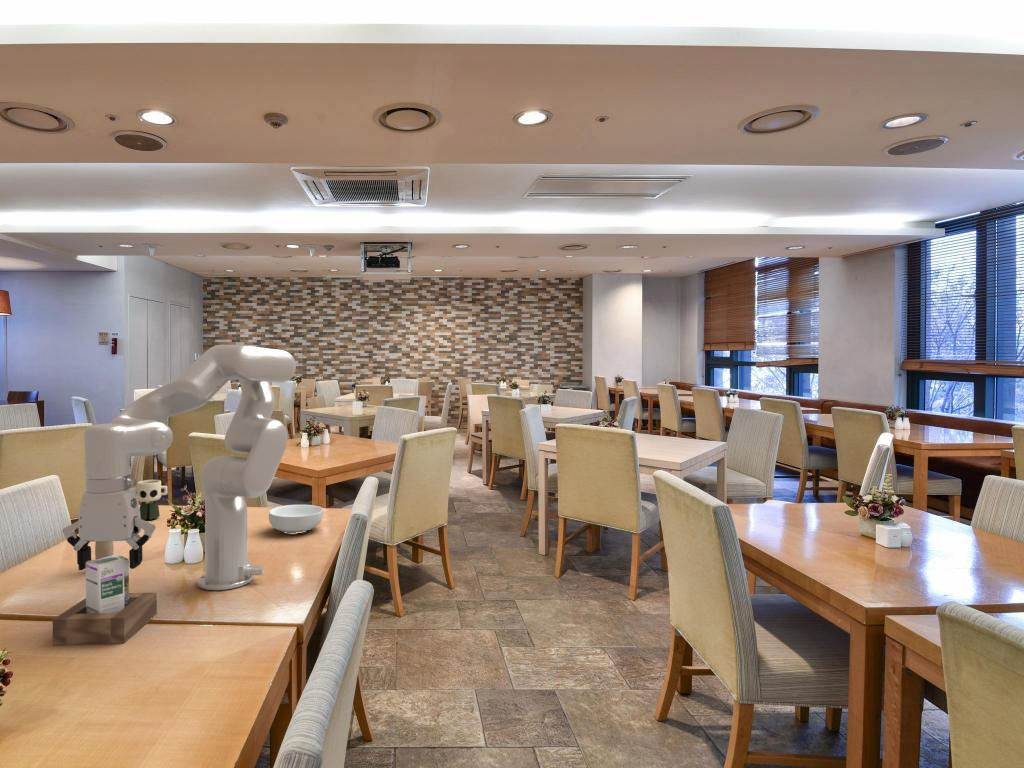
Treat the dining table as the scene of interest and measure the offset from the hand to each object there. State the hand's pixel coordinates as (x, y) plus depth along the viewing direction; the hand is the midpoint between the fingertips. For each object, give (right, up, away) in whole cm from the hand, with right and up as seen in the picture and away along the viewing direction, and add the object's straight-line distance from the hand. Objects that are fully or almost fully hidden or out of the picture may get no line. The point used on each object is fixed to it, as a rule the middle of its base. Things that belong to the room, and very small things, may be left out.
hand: (110, 567), depth 122 cm
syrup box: (-1, -13, 0) cm, 13 cm away
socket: (0, -13, 0) cm, 13 cm away
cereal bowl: (+12, -11, +73) cm, 74 cm away
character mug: (-43, -9, +83) cm, 94 cm away
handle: (-24, -11, +34) cm, 43 cm away
